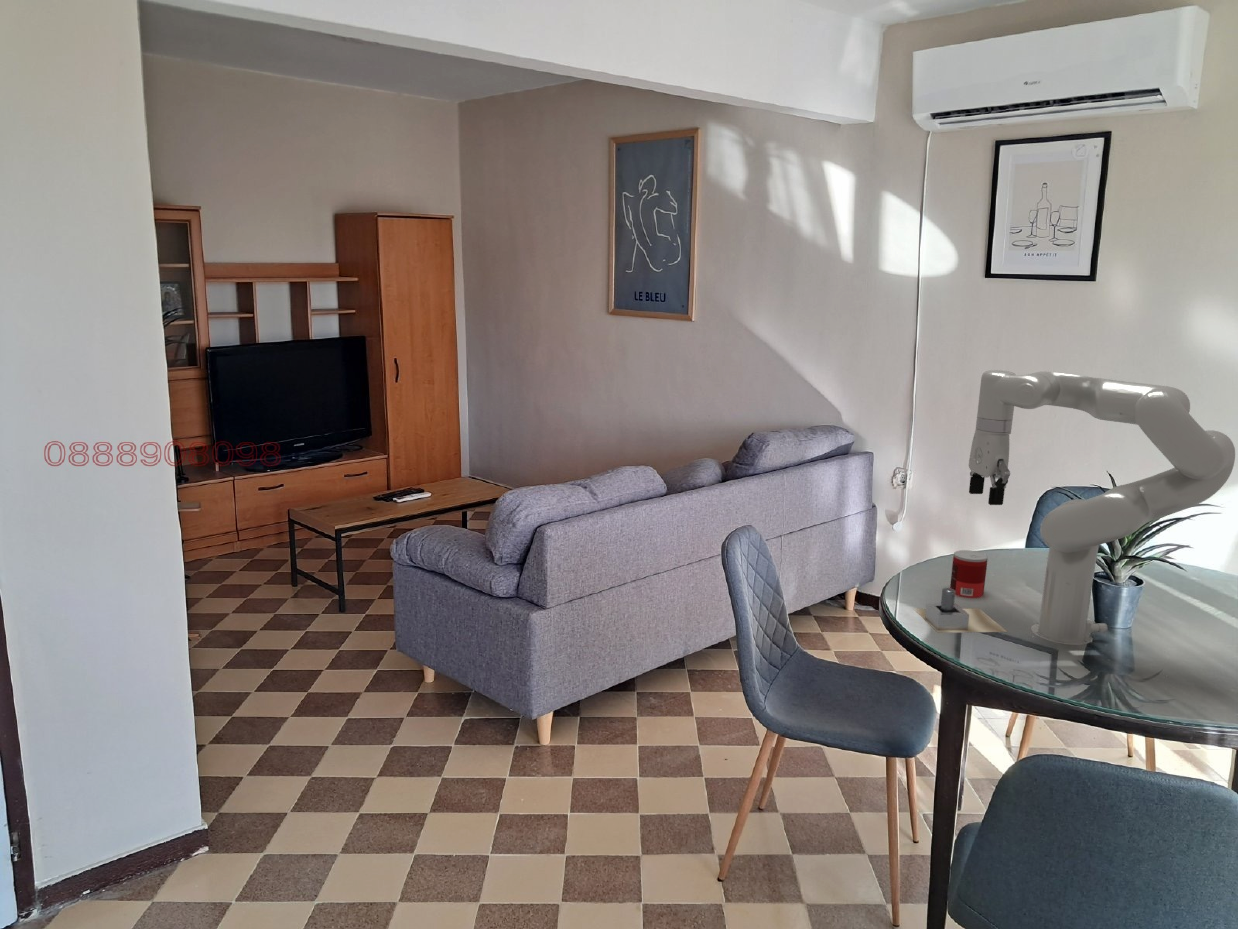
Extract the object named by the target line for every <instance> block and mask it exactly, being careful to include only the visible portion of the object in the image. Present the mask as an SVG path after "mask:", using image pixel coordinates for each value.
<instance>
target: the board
mask: <svg viewBox="0 0 1238 929" xmlns="http://www.w3.org/2000/svg"><path fill="white" fill-rule="evenodd" d="M962 609H963V610H964V611H965V612H967V613H968V614H969V623H968V630H937V629H936V628H935V627H934V626H933V625H932V624H931V623H930V622H929V621H928V620H927V619H925V612H926V608H914V609H913V611H915V613H917V615H919V616H920V618H922V619H923V620H924V621H925V622H926V623H927V624H928V625H929V626H931V628H933V630H935V632H937V633H938V634H940V633H941V634H942V633H943V634H944V633H945V634H946V633H947V634H949V633H951V634H952V633H954V634H955V633H956V634H957V633H1008V631H1007V630H1006V629H1005V628H1003V627H1002V626H1001V625H1000V624H998V623H997V622H996V621H995V620H993V619H992V617H990V616H989V615H987V613H985V612H984V611H983V610H981V609H980V608H962Z"/></svg>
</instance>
